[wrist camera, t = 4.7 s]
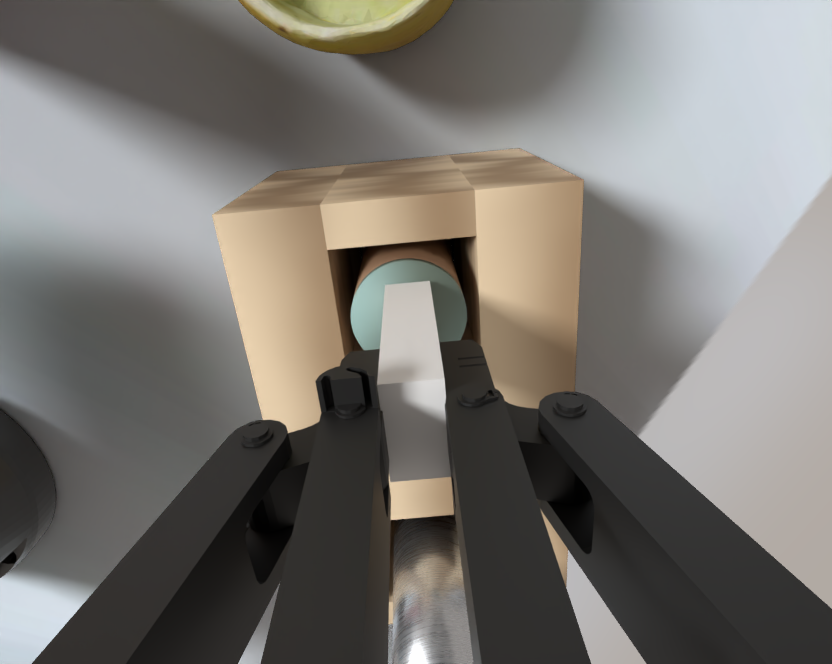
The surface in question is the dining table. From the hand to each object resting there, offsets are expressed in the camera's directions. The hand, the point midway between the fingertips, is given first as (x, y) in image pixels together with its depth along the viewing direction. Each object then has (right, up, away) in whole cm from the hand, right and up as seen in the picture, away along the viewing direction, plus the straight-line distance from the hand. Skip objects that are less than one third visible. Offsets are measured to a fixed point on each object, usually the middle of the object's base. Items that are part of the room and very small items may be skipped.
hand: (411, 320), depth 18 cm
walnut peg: (0, +4, +9) cm, 10 cm away
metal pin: (+1, -9, +8) cm, 13 cm away
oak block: (0, -1, +12) cm, 12 cm away
